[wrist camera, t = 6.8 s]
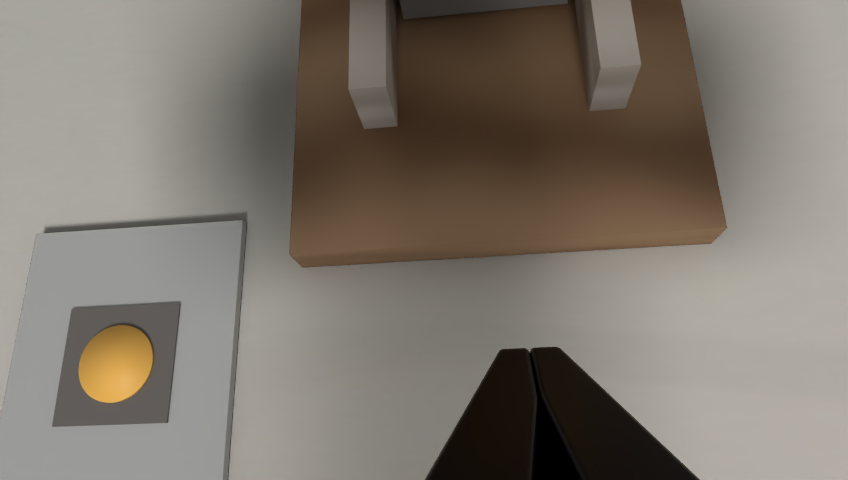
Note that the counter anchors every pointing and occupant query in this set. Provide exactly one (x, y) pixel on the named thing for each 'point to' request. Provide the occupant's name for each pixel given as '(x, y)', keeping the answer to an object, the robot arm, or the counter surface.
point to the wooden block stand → (497, 133)
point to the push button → (465, 6)
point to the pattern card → (126, 355)
